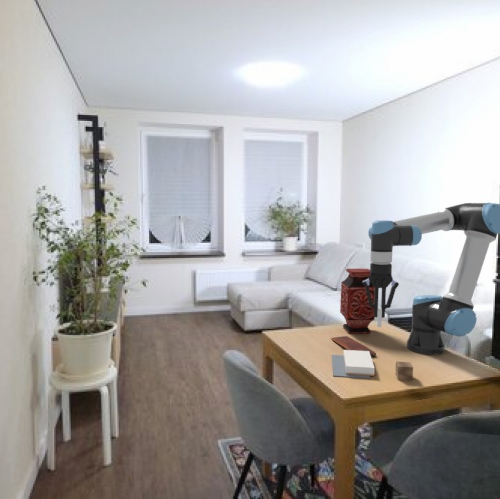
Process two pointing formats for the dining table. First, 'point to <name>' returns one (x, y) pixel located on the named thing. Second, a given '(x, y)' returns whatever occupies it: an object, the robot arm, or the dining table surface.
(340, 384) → the dining table surface
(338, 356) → the felt mat
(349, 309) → the vase
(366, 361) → the tile
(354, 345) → the wooden tablet
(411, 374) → the walnut block
